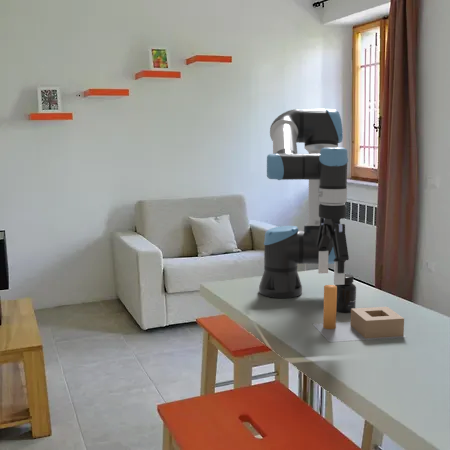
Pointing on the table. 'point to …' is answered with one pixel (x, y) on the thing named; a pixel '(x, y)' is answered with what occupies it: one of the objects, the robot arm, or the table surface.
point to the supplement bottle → (346, 295)
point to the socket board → (344, 333)
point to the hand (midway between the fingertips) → (330, 278)
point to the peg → (330, 306)
